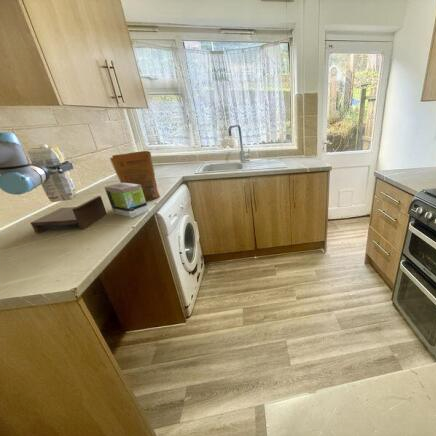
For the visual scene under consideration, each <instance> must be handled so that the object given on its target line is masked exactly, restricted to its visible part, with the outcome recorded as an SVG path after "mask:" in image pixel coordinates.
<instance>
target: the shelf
mask: <svg viewBox="0 0 436 436" xmlns="http://www.w3.org/2000/svg"><path fill="white" fill-rule="evenodd" d="M106 215H108V213H107V210H106V207H105V204H104V202H103V198H102V196H101V195H97V196H95V197H93V198H91V199H90V200H88V201H85V202H84V203H81V204H80V205H78V206H68V207H60V208H57V209H56V210H54V211H52V212H50V213H47V214H45V215H43V216H41V217H39V218H37V219H35V220H33V221H31V222H30V226H31V227H32V229H33V231H34V233H35V234H39V233H41V232H44V231H45V230H47V229H49V228H51V227H53V226H54V225H65V224H78V227H79V229H80V231H81V230H82V231H85V230H86V229H88V228H89V227H90V226H92V225H93V224H94V223H96V222H97V221H99V220H101V219H102V218H103V217H105V216H106Z"/></svg>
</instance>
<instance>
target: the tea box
mask: <svg viewBox="0 0 436 436" xmlns="http://www.w3.org/2000/svg"><path fill="white" fill-rule="evenodd" d="M104 190H105V193H106V195H107V199H108V201H109V205H110V207H111V209H112V211H113V214H116V215H119V216H123V217H127V218H130V219H132V218H135V217H138V216H140V215H142V214H144V213H147V212H149V207H148V204H147V201H146V200H145V197H144V194H143V191H142V187H141V185H140V184H133V183H125V182H123V183H121V182H119V183H115V184H111V185H107V186H104Z"/></svg>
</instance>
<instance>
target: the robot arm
mask: <svg viewBox="0 0 436 436" xmlns="http://www.w3.org/2000/svg"><path fill="white" fill-rule="evenodd" d="M23 149H24V148H23V146H22V144H21V142H20V141H19V138H18V137H17V136H16V134H15V133H14V132H11V131H0V190H1V191H3V192H5V193H7V194H9V195H14V196H15V195H17V196H18V195H20V196H21V195H24V194H26V193H30V192H31V191H33V190H34V189H37V187H38V186H40V185H41V184H42V183H44V182H46V181H47V180H48V179H49V178H50V175H52V174H55V173H56V172H58V173H60V174H61V173H63V172H65V171H68V172H70V171H71V170H74V166H73V163H72V162H70V161H69V160H64V162H63V163H62V164H59V165H55V166H52V165H50V166H42V165H40V164H32V163H29V161H28V159H27V157H26V154H25V152H24V150H23ZM48 167H49V168H48Z"/></svg>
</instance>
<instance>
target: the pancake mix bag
mask: <svg viewBox="0 0 436 436" xmlns="http://www.w3.org/2000/svg"><path fill="white" fill-rule="evenodd" d="M109 159H110V163H111V165H112V167H113V169H114V172H115V174H116V175H117V178H118V180H119V183H123V182H125V183H133V184H140V185H141V187H142V191H143V194H144V197H145V200H146V202H147V201H152V200H157V199H159V198H161V195H160V193H159V190H158V186H157V185H158V184H157V181H156V176H155V168H154V164H153V158H152V152H151V151H149V150H143V151H135V152H133V151H132V152H129V153H121V154H114V155H112V157H109Z"/></svg>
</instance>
